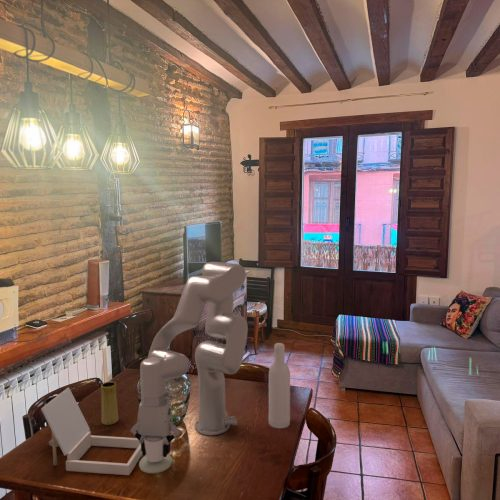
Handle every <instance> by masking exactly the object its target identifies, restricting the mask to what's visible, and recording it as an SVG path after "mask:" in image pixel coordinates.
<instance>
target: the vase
mask: <svg viewBox="0 0 500 500" xmlns="http://www.w3.org/2000/svg"><path fill="white" fill-rule="evenodd" d="M100 394H101V396H100V397H101V420H100V422H101V424H103V425H105V426H108V425H113V424H116V423H117V422H118V421H119V409H118V402H117V401H118V399H117V384H116V382H115V381H107V382H103V383H102V384H100Z"/></svg>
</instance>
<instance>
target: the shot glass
mask: <svg viewBox="0 0 500 500" xmlns="http://www.w3.org/2000/svg"><path fill="white" fill-rule="evenodd" d="M144 443H145V450H146V455H145V456H146V458H147V460H148V461H150V462H158V461H161V460H162V459H164V454H163V445H164V444H165V443H164V439H163V438H162V436H145V437H144Z"/></svg>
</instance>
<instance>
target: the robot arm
mask: <svg viewBox="0 0 500 500" xmlns="http://www.w3.org/2000/svg"><path fill="white" fill-rule="evenodd" d="M246 277H247V272H246V270H245V268H244V267H243V266H242V265H241V264H238V263H230V262H222V261H210V262H206V263H205V264H203V266H202V269H201V275H193V276H190V277H189V278H188V279H187V281H186V283H185V284H184V288H183V291H182V293H181V296H180V298H179V301H178V303H177V307H176V310H175V312H174V315H173V317H172V318H171V319H170V320H169V321H167V322H166V323H165V324H164V325H163V326H162V327H161V328H160V329H159V331H158V332H157V333H156V335H155V336H154V337H153V340H152V342H151V345H150V348H149V352H148V354H147V358H144V359H143V360H142V361H141V362H140V364H139V365H140V366H139V371H140V375H139V376H140V398H141V399H140V400H141V401H140V403H139V406H138V411H137V422H136V423H135V424H134V425H133V426H132V427H131V428H130V433H131V434H133V435H134V436H135V437H134V438H137V439H138V440H139V442H140V443H141V451H142V456H143V457H144V456H146V450H145V443H144V437H145V436H162V438H163V439H164V443H165V444H164V445H163V454H164V457H166V456H167V454H170V452H171V442H172V441H174V439H175V438H176V437H177V436H178V435H179V434H180V433H181V430H180V429H179V428H178V427H177V426H176V425H174V422H173V413H172V408H171V404H170V401H171V397H172V396H171V395H168V391H167V383H166V382H167V381H168V380H174V379H177V378H178V379H179V378H181V377H182V376H183V377H184V376H185V374H187V372H188V371H189V369H190V365H191V364H190V360H189V358H188V356H186V355H185V354H183V353H180V352H176V351H174V350H170V349H169V347H170V344H171V343H172V341H173V340H174V339H175V338H176V337H177V336H178V335H180V334H181V333H184V332H185V331H189V330H191V329H194V328H197V326H198V325H199V323H200V321H201V318H202V315H203V312H204V309H205V306H206V303H209V305H208V310H207V314H206V320H205V325H204V327H205V328H204V331H205V332H206V333H205V334H207V335H208V336H209V337H211V338H215V339H219V340H224V341H225V343H222V342H219V341H215V340H204V341H202V342H200V343H199V344H198V345H197V347H196V348H195V351H194V359H195V364H196V365H195V366H196V369H197V378H198V386H197V387H198V419H197V420H196V422H195V423H194V429H195V431H196V432H197V433H199V434H201V435H206V436H216V435H221V434H224V433H225V432H227V431H228V430H230V428H231V426H232V425H233V426H238V419H236V416H234V415H233V416H232V415H231V416H229V415H228V411H226V378H225V374H226V375H227V374H228V375H235V374H236V373H238V371H239V370H240V368H241V367H242V364H243V358H244V354H245V350H246V349H245V348H246V343H247V339H248V331H249V328H248V327H249V326H248V322H247V320H246V318H245V317H244V316H243V315H239V314H235V313H233V308H234V307H233V306H234V299H235V297H234V295H233V294H234V293H235V292H236V291H238V290H239V289H240V288H241V287H242V286H243V285H244V283H245V281H246ZM170 431H172V433H171V434H170Z"/></svg>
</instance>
